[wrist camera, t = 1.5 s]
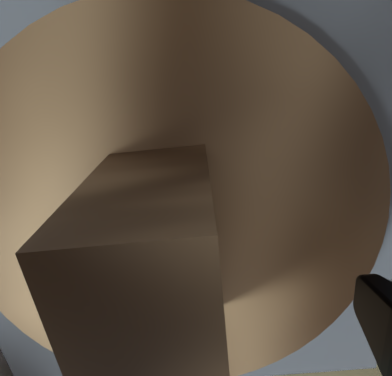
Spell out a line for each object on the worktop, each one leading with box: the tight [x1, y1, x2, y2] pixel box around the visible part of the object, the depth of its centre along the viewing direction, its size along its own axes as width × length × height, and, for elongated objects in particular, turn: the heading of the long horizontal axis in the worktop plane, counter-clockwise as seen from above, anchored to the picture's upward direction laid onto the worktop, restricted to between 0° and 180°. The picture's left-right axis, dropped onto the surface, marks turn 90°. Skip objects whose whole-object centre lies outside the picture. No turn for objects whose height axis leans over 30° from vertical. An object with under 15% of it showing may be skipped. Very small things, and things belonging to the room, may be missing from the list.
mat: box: [0, 0, 392, 376], centre depth 11 cm, size 16×16×1 cm
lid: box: [0, 0, 391, 376], centre depth 8 cm, size 14×14×6 cm
